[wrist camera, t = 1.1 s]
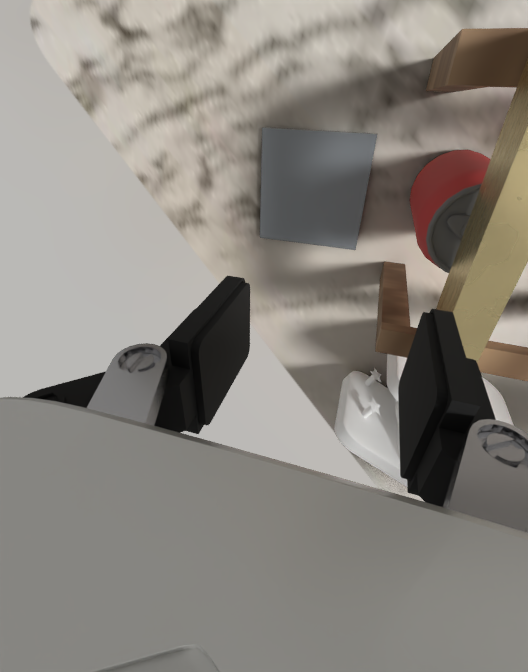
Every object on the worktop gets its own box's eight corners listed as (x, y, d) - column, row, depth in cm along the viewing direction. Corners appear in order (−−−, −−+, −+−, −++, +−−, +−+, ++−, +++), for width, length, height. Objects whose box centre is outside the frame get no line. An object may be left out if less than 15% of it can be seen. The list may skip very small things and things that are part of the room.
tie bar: (601, 26, 14) (653, 7, 11) (449, 368, 24) (457, 403, 21) (538, 26, 14) (574, 9, 12) (416, 362, 25) (419, 395, 22)
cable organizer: (507, 388, 38) (543, 479, 29) (435, 433, 45) (446, 518, 36) (397, 315, 37) (399, 385, 28) (340, 372, 44) (326, 443, 35)
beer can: (442, 133, 28) (469, 150, 18) (515, 171, 28) (580, 207, 18) (394, 209, 32) (395, 255, 22) (457, 242, 32) (485, 302, 22)
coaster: (377, 133, 29) (377, 134, 29) (355, 248, 35) (355, 250, 34) (264, 127, 31) (262, 127, 31) (261, 235, 37) (259, 237, 36)
